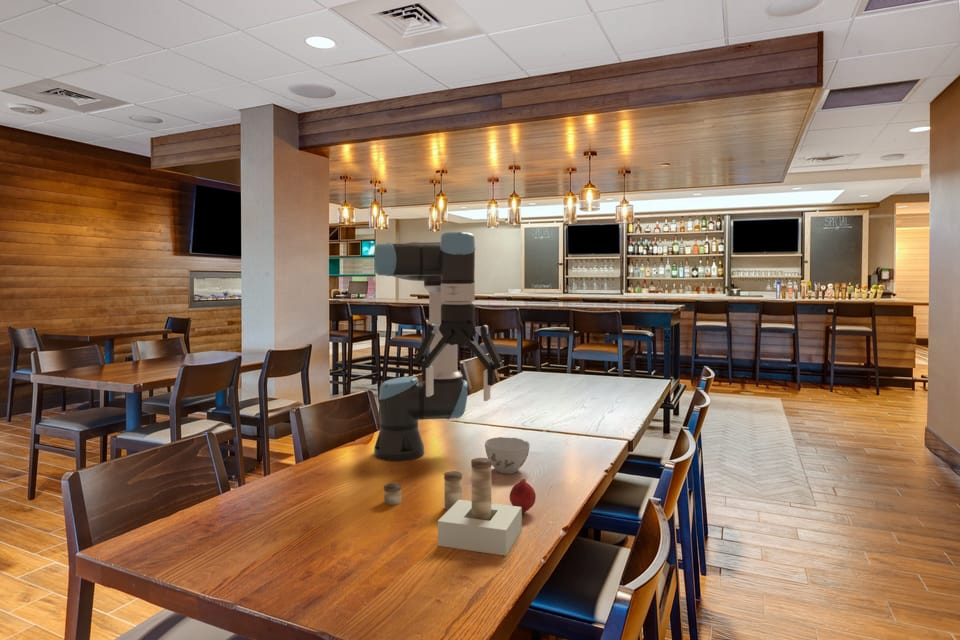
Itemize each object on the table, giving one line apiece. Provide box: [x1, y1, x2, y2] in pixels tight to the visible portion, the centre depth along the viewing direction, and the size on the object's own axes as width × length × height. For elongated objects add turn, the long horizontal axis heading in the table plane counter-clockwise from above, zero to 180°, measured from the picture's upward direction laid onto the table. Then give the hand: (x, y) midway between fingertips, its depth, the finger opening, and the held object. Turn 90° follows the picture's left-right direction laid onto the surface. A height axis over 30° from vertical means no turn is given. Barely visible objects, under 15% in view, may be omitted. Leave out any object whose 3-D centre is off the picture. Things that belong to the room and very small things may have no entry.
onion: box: [509, 477, 537, 514], centre depth 128 cm, size 6×6×8 cm
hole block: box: [437, 499, 523, 557], centre depth 115 cm, size 14×12×5 cm
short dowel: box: [383, 482, 402, 506], centre depth 135 cm, size 4×4×4 cm
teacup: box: [484, 436, 530, 475], centre depth 159 cm, size 15×12×8 cm
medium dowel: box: [443, 470, 463, 512], centre depth 131 cm, size 4×4×8 cm
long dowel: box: [470, 457, 493, 521], centre depth 115 cm, size 4×4×16 cm
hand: (457, 397), depth 127 cm, fingers open, 13 cm apart
